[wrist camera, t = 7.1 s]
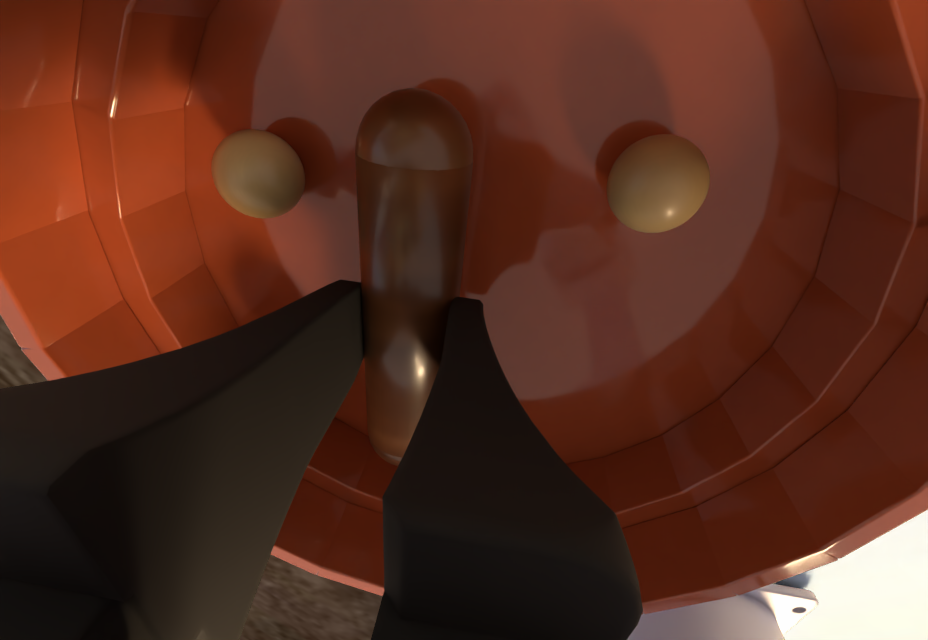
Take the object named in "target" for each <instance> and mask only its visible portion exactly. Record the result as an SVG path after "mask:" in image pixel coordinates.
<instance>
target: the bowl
mask: <svg viewBox="0 0 928 640" xmlns="http://www.w3.org/2000/svg"><path fill="white" fill-rule="evenodd" d="M404 88H418V89H425V90H429V91H431V92H434V93H436V94H438V95H440V96H442V97H443V98H445V99H446V100H447V101H449V102H450V103H451V104H452V105H453V106H454V107H455V108H456V109H457V110H458V111H459V112H460V114H461V115H462V117H463V119H464V120H465V122H466V123H467V126H468V129H469V131H470V134H471V138H472V143H473V168H472V178H471V188H470V198H469V208H468V218H467V228H466V238H465V248H464V258H463V268H462V278H461V287H460V297H464V298H471V299H478V300H480V301H481V302H482V303H483V305H484V306H483V312H484V319H485V323H486V327H487V331H488V334H489V338H490V340H491V343H492V346H493V349H494V352H495V354H496V357H497V359H498V361H499V364H500V366H501V368H502V370H503V372H504V375H505V377H506V379H507V381H508V382H509V384H510V386H511V388H512V390H513V392H514V393H515V395H516V397H517V398H518V400H519V402H520V404H521V405H522V407H523V408H524V410H525V411H526V413H527V414H528V416H529V417H530V419H531V420H532V422H533V423H534V424H535V426H536V427H537V428H538V430H539V431H540V432H541V434H542V435H543V436H544V437H545V439H546V440H547V441H548V443H549V444H550V445H551V447H552V448H553V449H554V451H555V452H556V453H557V454H558V455H559V457H560V458H561V459H562V460H563V461H564V462H565V463H566V465H567V466H568V467H569V468H570V469H571V470H572V471H573V472H574V473H575V474H576V475H577V476H578V477H579V478H580V479H581V480H582V481H583V482H584V483H585V484H586V485H587V486H588V487H589V488H590V489H591V490H592V491H593V492H594V493H595V494H596V495H597V496H598V497H599V498H600V499H601V500H602V501H603V502H604V503H605V504H606V505H607V506H608V507H609V508H611V509H612V510H613V511H614V512H615V514H616V515H617V518H618V520H619V523H620V526H621V528H622V531H623V534H624V537H625V539H626V542H627V545H628V548H629V551H630V554H631V557H632V560H633V563H634V567H635V570H636V574H637V578H638V581H639V587H640V593H641V601H642V607H643V612H642V614H643V613H644V614H650V613H655V612H660V611H665V610H670V609H675V608H680V607H685V606H690V605H695V604H700V603H705V602H710V601H715V600H720V599H725V598H730V597H735V596H737V595H742V594H745V593H748V592H751V591H753V590H756V589H759V588H762V587H765V586H767V585H770V584H773V583H776V582H778V581H781V580H784V579H787V578H790V577H792V576H795V575H798V574H801V573H804V572H806V571H809V570H812V569H815V568H818V567H820V566H823V565H826V564H829V563H831V562H834V561H837V560H838V558H842V557H844V556H846V555H848V554H849V553H851V552H853V551H855V550H857V549H858V548H860V547H862V546H864V545H865V544H867V543H869V542H871V541H873V540H874V539H876V538H878V537H880V536H882V535H883V534H885V533H887V532H889V531H890V530H892V529H894V528H896V527H898V526H899V525H901V524H903V523H905V522H907V521H908V520H910V519H912V518H914V517H915V516H917V515H919V514H921V513H923V512H924V511H926V510H928V0H0V315H1V317H2V318H3V320H4V322H5V323H6V325H7V327H8V328H9V330H10V332H11V333H12V335H13V337H14V338H15V340H16V342H17V343H18V345H19V346H20V347H22V348H21V350H22V351H23V352H24V354H25V355H26V356H27V357H28V358H29V359H30V360H31V362H32V363H33V364H34V365H35V366H36V367H37V368H38V370H39V371H40V372H41V373H42V374H43V375H44V377H45V378H46V379H47V380H48V381H50V380H55V379H60V378H65V377H70V376H75V375H80V374H84V373H89V372H94V371H98V370H102V369H107V368H111V367H115V366H119V365H123V364H127V363H131V362H135V361H138V360H142V359H145V358H149V357H152V356H156V355H159V354H163V353H166V352H170V351H173V350H177V349H180V348H183V347H186V346H189V345H192V344H195V343H198V342H201V341H204V340H207V339H209V338H212V337H215V336H218V335H220V334H223V333H225V332H228V331H231V330H233V329H235V328H238V327H240V326H242V325H245V324H247V323H249V322H251V321H254V320H256V319H258V318H260V317H263V316H265V315H267V314H269V313H272V312H274V311H276V310H278V309H280V308H282V307H284V306H286V305H288V304H290V303H292V302H294V301H296V300H298V299H300V298H302V297H304V296H306V295H308V294H310V293H312V292H314V291H316V290H318V289H320V288H322V287H324V286H326V285H328V284H331V283H333V282H335V281H338V280H340V279H341V280H348V281H355V282H361V272H360V250H359V228H358V206H357V184H356V162H355V144H356V136H357V132H358V128H359V125H360V123H361V121H362V119H363V117H364V115H365V113H366V112H367V111H368V109H369V108H370V107H371V106H372V104H374V103H375V102H376V101H377V100H378V99H380V98H381V97H382V96H384V95H386V94H388V93H390V92H392V91H395V90H400V89H404ZM245 129H258V130H263V131H267V132H270V133H273V134H275V135H277V136H278V137H280V138H282V139H283V140H284V141H286V142H287V143H288V144H289V145H290V146H291V147H292V148H293V149H294V150H295V152H296V153H297V155H298V156H299V158H300V160H301V162H302V165H303V168H304V173H305V187H304V191H303V194H302V197H301V199H300V200H299V202H298V203H297V204H296V206H295V207H294V208H293V209H291V210H290V211H289V212H287V213H285V214H283V215H281V216H278V217H274V218H255V217H251V216H248V215H245V214H243V213H241V212H239V211H237V210H236V209H234V208H233V207H231V206H230V205H229V204H228V203H227V202H226V201H225V200H224V199H223V198H222V196H221V195H220V194H219V192H218V190H217V188H216V186H215V184H214V181H213V177H212V171H211V164H212V158H213V155H214V152H215V150H216V148H217V146H218V145H219V144H220V142H221V141H222V140H223V139H224V138H226V137H227V136H229V135H230V134H232V133H234V132H237V131H240V130H245ZM660 134H671V135H676V136H680V137H683V138H685V139H687V140H689V141H691V142H692V143H693V144H695V145H696V146H697V147H698V148H699V149H700V150H701V151H702V153H703V154H704V156H705V158H706V160H707V163H708V166H709V170H710V184H709V189H708V193H707V196H706V198H705V200H704V202H703V204H702V205H701V207H700V208H699V209H698V211H697V212H696V213H695V214H694V215H693V216H692V217H691V218H690V219H689V220H688V221H686V222H685V223H683V224H682V225H680V226H678V227H676V228H674V229H671V230H668V231H665V232H659V233H645V232H639V231H636V230H633V229H631V228H629V227H627V226H626V225H624V224H623V223H622V222H620V221H619V220H618V219H617V217H616V216H615V215H614V213H613V212H612V210H611V208H610V205H609V203H608V198H607V181H608V176H609V173H610V170H611V168H612V166H613V164H614V163H615V161H616V160H617V158H618V157H619V156H620V155H621V153H622V152H623V151H625V150H626V149H627V148H628V147H629V146H631V145H632V144H634V143H635V142H637V141H639V140H641V139H643V138H646V137H649V136H653V135H660ZM397 467H398V466H396V465H393V464H390V463H388V462H386V461H385V460H384V459H382V458H381V457H380V456H379V455H378V454H377V453H376V452H375V450H374V448H373V446H372V445H371V443H370V440H369V435H368V427H367V405H366V383H365V361H364V358H363V361H362V363H361V366H360V368H359V371H358V373H357V376H356V378H355V381H354V383H353V385H352V386H351V388H350V390H349V392H348V394H347V396H346V397H345V399H344V401H343V403H342V405H341V406H340V408H339V410H338V412H337V413H336V415H335V417H334V419H333V420H332V422H331V424H330V426H329V428H328V429H327V431H326V433H325V435H324V436H323V438H322V440H321V442H320V443H319V445H318V447H317V449H316V450H315V452H314V454H313V456H312V458H311V460H310V462H309V464H308V466H307V468H306V470H305V472H304V475H303V477H302V479H301V482H300V484H299V486H298V489H297V491H296V493H295V496H294V498H293V500H292V503H291V505H290V507H289V510H288V512H287V515H286V517H285V520H284V522H283V524H282V527H281V529H280V532H279V534H278V537H277V539H276V542H275V544H274V547H273V549H272V552H271V555H274V556H276V557H278V558H280V559H282V560H284V561H287V562H289V563H291V564H293V565H295V566H297V567H300V568H302V569H304V570H306V571H308V572H310V573H313V574H315V575H316V574H317V575H318V576H321V577H325V578H328V579H331V580H334V581H337V582H340V583H343V584H346V585H350V586H353V587H356V588H359V589H362V590H365V591H368V592H372V593H375V594H378V595H381V596H383V594H384V550H383V501H382V497H383V495H384V493H385V491H386V489H387V487H388V485H389V484H390V482H391V480H392V478H393V476H394V473H395V471H396V469H397Z"/></svg>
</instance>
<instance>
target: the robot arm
mask: <svg viewBox="0 0 928 640" xmlns="http://www.w3.org/2000/svg"><path fill="white" fill-rule="evenodd" d="M483 306H484V305H483V303H482V302H481V301H480V300H478V299H471V298H464V297H456V298H454V299H453V301H452V303H451V306H450V308H449V314H448V320H447V327H446V333H445V340H444V347H443V353H442V358H441V362H440V366H439V369H438V372H437V375H436V378H435V380H434V383H433V386H432V389H431V392H430V394H429V397H428V399H427V402H426V404H425V407H424V410H423V412H422V415H421V417H420V419H419V422H418V424H417V426H416V429H415V431H414V433H413V436H412V438H411V440H410V442H409V445H408V447H407V449H406V451H405V453H404V455H403V457H402V459H401V461H400V463H399V465H398V467H397V469H396V471H395V473H394V476H393V478H392V480H391V482H390V484H389V485H388V487H387V489H386V491H385V493H384V495H383V497H382V501H383V550H384V594H383V597H382V601H381V605H380V608H379V612H378V616H377V620H376V623H375V627H374V631H373V635H372V638H371V640H785V638H784V636H783V635H784V634H785V633H786V632H787V631H788V630H790V629H791V628H792V627H793V626H794V625H795V624H797V623H798V622H799V621H800V620H801V619H802V618H804V617H805V616H806V615H807V614H808V613H809V612H811V611H812V610H813V609H814V608H815V607H816V606H817V605H818V600H817V598H816V596H815V595H814V593H813V592H811V591H809V590H806V589H800V588H794V587H789V586H783V585H777V584H770V585H767V586H765V587H762V588H759V589H756V590H753V591H751V592H748V593H745V594H742V595H737V596H735V597H730V598H725V599H720V600H715V601H710V602H705V603H700V604H695V605H690V606H685V607H680V608H675V609H670V610H665V611H660V612H655V613H650V614H644V613H643V614H642V612H643V607H642V601H641V593H640V587H639V581H638V578H637V574H636V570H635V567H634V563H633V560H632V557H631V554H630V551H629V548H628V545H627V542H626V539H625V537H624V534H623V531H622V528H621V526H620V523H619V520H618V518H617V515H616V514H615V512H614V511H613V510H612V509H611V508H609V507H608V506H607V505H606V504H605V503H604V502H603V501H602V500H601V499H600V498H599V497H598V496H597V495H596V494H595V493H594V492H593V491H592V490H591V489H590V488H589V487H588V486H587V485H586V484H585V483H584V482H583V481H582V480H581V479H580V478H579V477H578V476H577V475H576V474H575V473H574V472H573V471H572V470H571V469H570V468H569V467H568V466H567V465H566V463H565V462H564V461H563V460H562V459H561V458H560V457H559V455H558V454H557V453H556V452H555V451H554V449H553V448H552V447H551V445H550V444H549V443H548V441H547V440H546V439H545V437H544V436H543V435H542V434H541V432H540V431H539V430H538V428H537V427H536V426H535V424H534V423H533V422H532V420H531V419H530V417H529V416H528V414H527V413H526V411H525V410H524V408H523V407H522V405H521V404H520V402H519V400H518V398H517V397H516V395H515V393H514V392H513V390H512V388H511V386H510V384H509V382H508V381H507V379H506V377H505V375H504V372H503V370H502V368H501V366H500V364H499V361H498V359H497V357H496V354H495V352H494V349H493V346H492V343H491V340H490V338H489V334H488V331H487V327H486V323H485V319H484V312H483ZM363 358H364V339H363V316H362V294H361V282H355V281H348V280H341V279H340V280H338V281H335V282H333V283H331V284H328V285H326V286H324V287H322V288H320V289H318V290H316V291H314V292H312V293H310V294H308V295H306V296H304V297H302V298H300V299H298V300H296V301H294V302H292V303H290V304H288V305H286V306H284V307H282V308H280V309H278V310H276V311H274V312H272V313H269V314H267V315H265V316H263V317H260V318H258V319H256V320H254V321H251V322H249V323H247V324H245V325H242V326H240V327H238V328H235V329H233V330H231V331H228V332H225V333H223V334H220V335H218V336H215V337H212V338H209V339H207V340H204V341H201V342H198V343H195V344H192V345H189V346H186V347H183V348H180V349H177V350H173V351H170V352H166V353H163V354H159V355H156V356H152V357H149V358H145V359H142V360H138V361H135V362H131V363H127V364H123V365H119V366H115V367H111V368H107V369H102V370H98V371H94V372H89V373H84V374H80V375H75V376H70V377H65V378H60V379H55V380H50V381H45V382H39V383H34V384H28V385H21V386H15V387H9V388H3V389H0V640H239V639H240V636H241V633H242V630H243V628H244V625H245V622H246V619H247V616H248V613H249V611H250V608H251V605H252V602H253V599H254V597H255V594H256V591H257V589H258V586H259V583H260V581H261V578H262V575H263V573H264V570H265V568H266V565H267V562H268V560H269V557H270V554H271V552H272V549H273V547H274V544H275V542H276V539H277V537H278V534H279V532H280V529H281V527H282V524H283V522H284V520H285V517H286V515H287V512H288V510H289V507H290V505H291V503H292V500H293V498H294V496H295V493H296V491H297V489H298V486H299V484H300V482H301V479H302V477H303V475H304V472H305V470H306V468H307V466H308V464H309V462H310V460H311V458H312V456H313V454H314V452H315V450H316V449H317V447H318V445H319V443H320V442H321V440H322V438H323V436H324V435H325V433H326V431H327V429H328V428H329V426H330V424H331V422H332V420H333V419H334V417H335V415H336V413H337V412H338V410H339V408H340V406H341V405H342V403H343V401H344V399H345V397H346V396H347V394H348V392H349V390H350V388H351V386H352V385H353V383H354V381H355V378H356V376H357V373H358V371H359V368H360V366H361V363H362V361H363Z"/></svg>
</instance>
